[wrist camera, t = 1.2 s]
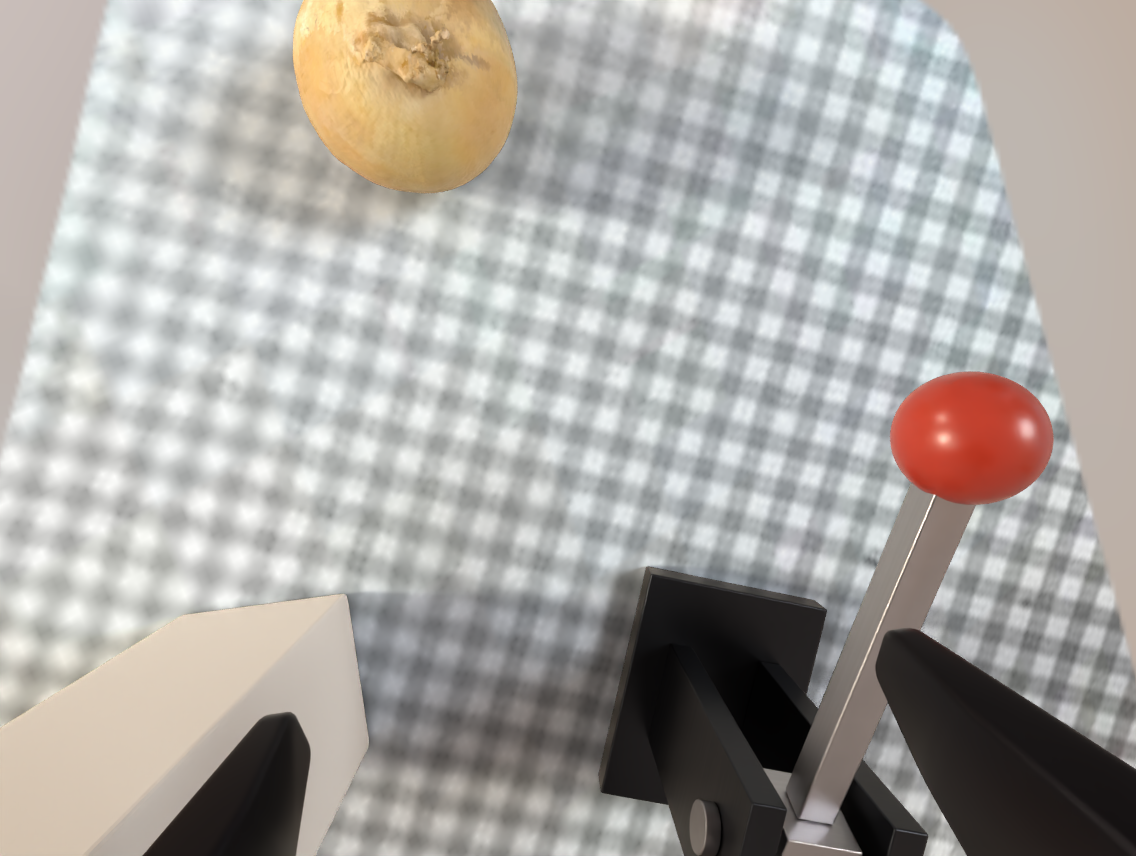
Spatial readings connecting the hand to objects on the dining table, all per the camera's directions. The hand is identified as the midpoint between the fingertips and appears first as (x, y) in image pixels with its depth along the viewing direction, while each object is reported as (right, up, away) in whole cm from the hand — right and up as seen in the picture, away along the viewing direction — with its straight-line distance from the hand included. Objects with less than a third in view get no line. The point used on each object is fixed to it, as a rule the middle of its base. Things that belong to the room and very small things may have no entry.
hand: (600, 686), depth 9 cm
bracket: (+6, -8, +17) cm, 20 cm away
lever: (+8, -2, +8) cm, 11 cm away
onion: (-6, +17, +15) cm, 24 cm away
